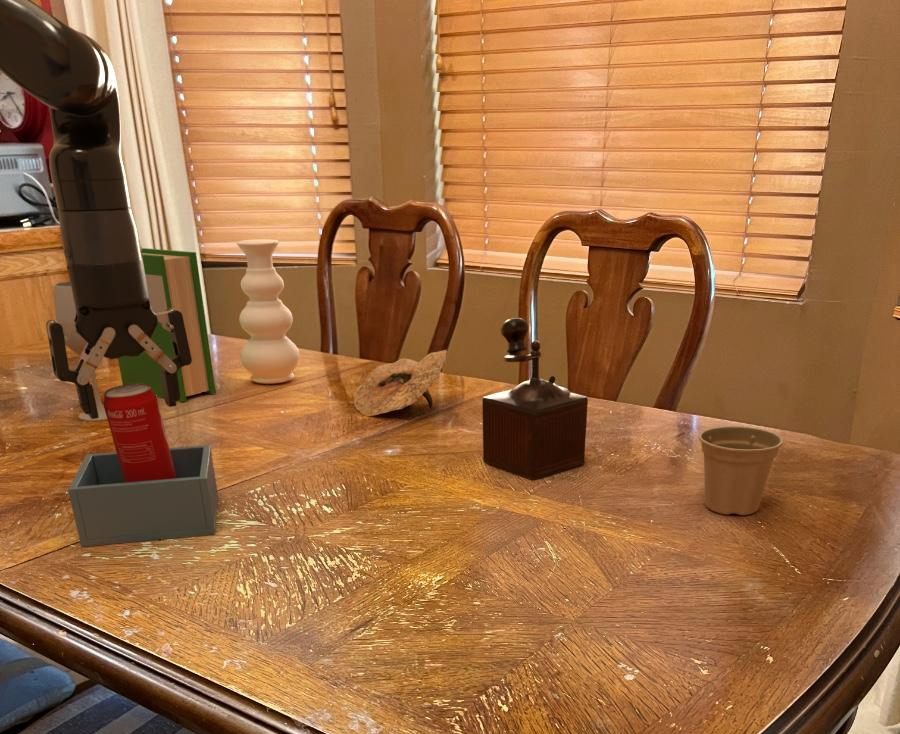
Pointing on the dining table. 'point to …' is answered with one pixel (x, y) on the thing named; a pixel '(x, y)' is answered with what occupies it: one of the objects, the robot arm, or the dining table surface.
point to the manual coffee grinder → (533, 418)
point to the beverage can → (138, 433)
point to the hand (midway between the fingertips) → (132, 411)
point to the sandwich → (398, 384)
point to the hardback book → (168, 288)
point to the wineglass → (75, 337)
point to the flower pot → (737, 467)
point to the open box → (144, 500)
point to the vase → (265, 317)
